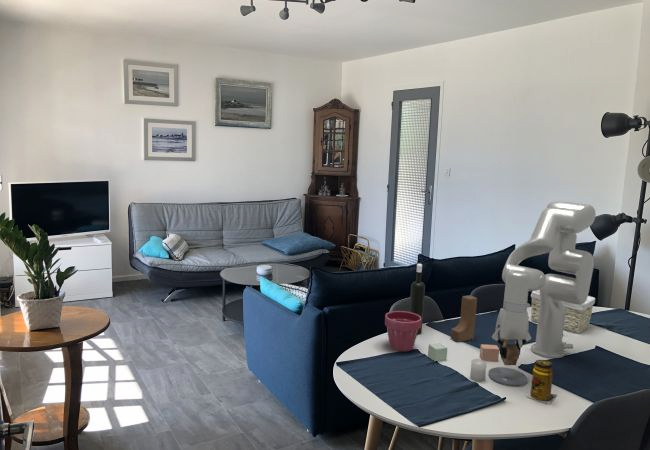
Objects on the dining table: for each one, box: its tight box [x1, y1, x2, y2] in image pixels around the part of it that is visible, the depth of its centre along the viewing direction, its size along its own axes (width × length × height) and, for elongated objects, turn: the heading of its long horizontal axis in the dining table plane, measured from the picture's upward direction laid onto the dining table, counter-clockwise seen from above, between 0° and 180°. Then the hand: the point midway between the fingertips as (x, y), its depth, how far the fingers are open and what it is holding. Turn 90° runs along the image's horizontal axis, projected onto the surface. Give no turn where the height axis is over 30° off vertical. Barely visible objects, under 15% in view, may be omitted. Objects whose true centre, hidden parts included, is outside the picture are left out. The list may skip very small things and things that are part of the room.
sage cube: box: [427, 342, 448, 362], centre depth 199 cm, size 5×5×5 cm
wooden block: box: [450, 295, 478, 343], centre depth 219 cm, size 9×4×18 cm, turn 118°
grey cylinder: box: [469, 358, 487, 383], centre depth 183 cm, size 5×5×6 cm
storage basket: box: [530, 290, 596, 334], centre depth 242 cm, size 24×16×15 cm
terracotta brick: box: [479, 343, 500, 362], centre depth 200 cm, size 6×4×5 cm, turn 87°
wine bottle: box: [408, 263, 426, 335], centre depth 223 cm, size 6×6×30 cm
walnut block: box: [500, 343, 521, 366], centre depth 183 cm, size 4×4×6 cm
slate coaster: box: [487, 366, 528, 387], centre depth 185 cm, size 13×13×1 cm
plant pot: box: [384, 310, 422, 352], centre depth 208 cm, size 14×14×13 cm
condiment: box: [525, 359, 557, 405], centre depth 172 cm, size 7×8×12 cm
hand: (509, 356), depth 184 cm, fingers closed on walnut block, 4 cm apart
